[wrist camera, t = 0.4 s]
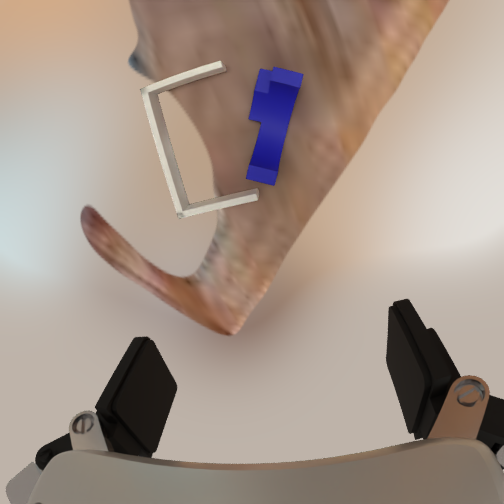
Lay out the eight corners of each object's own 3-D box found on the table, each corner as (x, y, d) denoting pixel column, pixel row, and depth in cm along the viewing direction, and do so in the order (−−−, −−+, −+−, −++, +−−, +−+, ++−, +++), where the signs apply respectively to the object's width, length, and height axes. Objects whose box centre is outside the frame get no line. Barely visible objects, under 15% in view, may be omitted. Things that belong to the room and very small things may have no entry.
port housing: (150, 90, 32) (140, 89, 29) (225, 65, 30) (220, 60, 28) (185, 211, 38) (178, 219, 36) (259, 194, 37) (257, 200, 34)
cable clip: (261, 72, 31) (258, 63, 25) (299, 81, 31) (303, 74, 25) (238, 166, 36) (231, 175, 30) (274, 175, 36) (274, 185, 30)
